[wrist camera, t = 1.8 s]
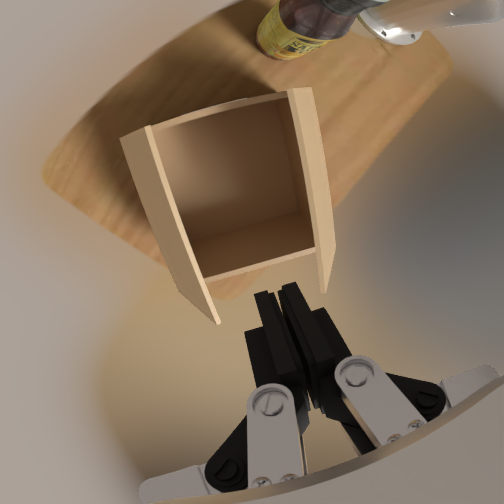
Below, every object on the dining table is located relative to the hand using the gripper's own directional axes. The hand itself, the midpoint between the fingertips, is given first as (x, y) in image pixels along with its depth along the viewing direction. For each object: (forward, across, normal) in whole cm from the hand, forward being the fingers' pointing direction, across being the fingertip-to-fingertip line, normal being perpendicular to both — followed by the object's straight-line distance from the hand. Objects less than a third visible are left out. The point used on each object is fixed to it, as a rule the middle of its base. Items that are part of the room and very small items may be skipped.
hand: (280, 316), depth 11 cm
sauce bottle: (+26, -10, -16) cm, 32 cm away
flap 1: (+13, +6, 0) cm, 14 cm away
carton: (+26, 0, 0) cm, 26 cm away
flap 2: (+13, -7, 0) cm, 14 cm away
